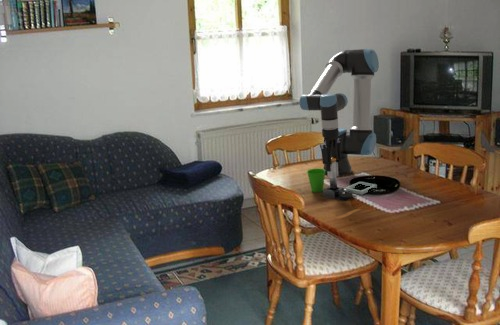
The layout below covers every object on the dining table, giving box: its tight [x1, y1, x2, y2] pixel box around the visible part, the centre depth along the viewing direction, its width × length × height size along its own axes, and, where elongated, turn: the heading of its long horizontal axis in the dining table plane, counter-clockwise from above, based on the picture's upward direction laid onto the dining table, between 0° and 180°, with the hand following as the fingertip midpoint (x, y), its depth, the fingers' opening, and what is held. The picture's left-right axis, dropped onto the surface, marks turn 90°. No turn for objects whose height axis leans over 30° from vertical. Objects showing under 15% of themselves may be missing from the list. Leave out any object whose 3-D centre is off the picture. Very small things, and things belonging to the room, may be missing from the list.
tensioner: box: [320, 186, 357, 202], centre depth 279 cm, size 9×15×5 cm, turn 42°
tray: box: [344, 181, 378, 196], centre depth 285 cm, size 12×10×2 cm
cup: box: [306, 167, 325, 193], centre depth 288 cm, size 9×9×11 cm
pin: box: [329, 157, 338, 188], centre depth 279 cm, size 4×4×14 cm
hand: (333, 176), depth 279 cm, fingers closed on pin, 3 cm apart
